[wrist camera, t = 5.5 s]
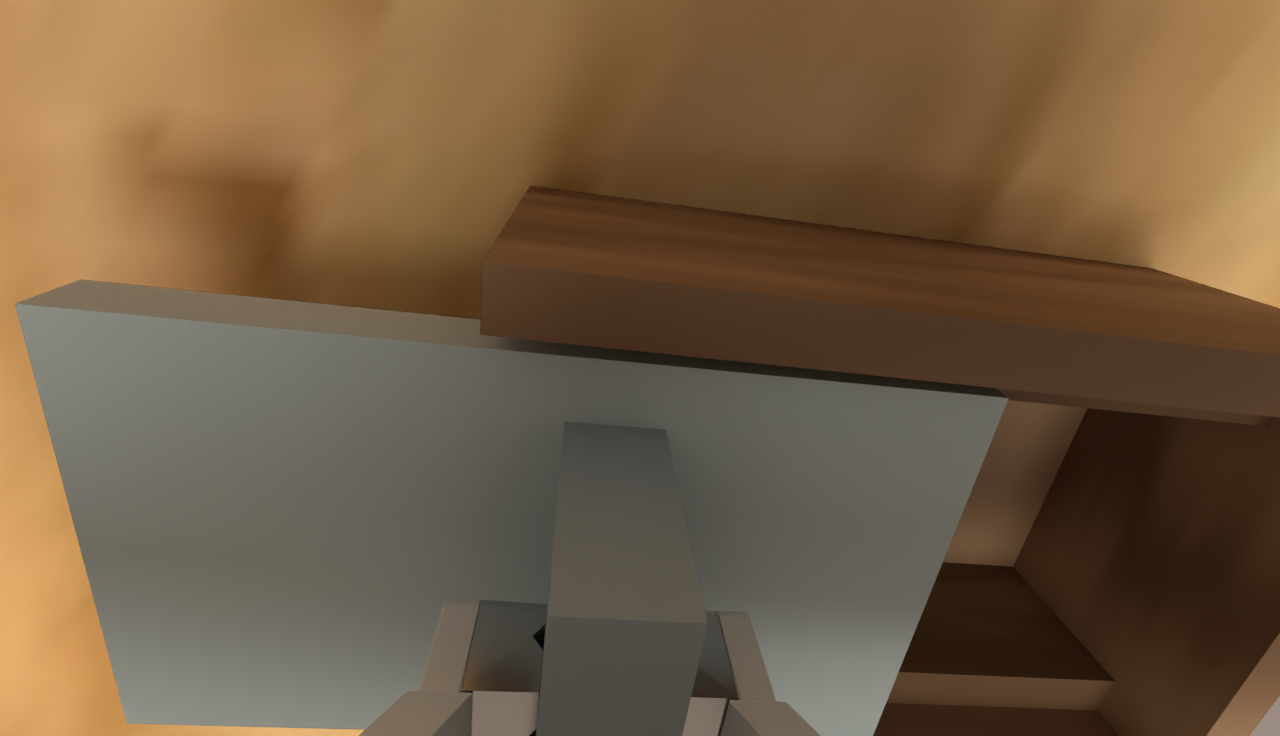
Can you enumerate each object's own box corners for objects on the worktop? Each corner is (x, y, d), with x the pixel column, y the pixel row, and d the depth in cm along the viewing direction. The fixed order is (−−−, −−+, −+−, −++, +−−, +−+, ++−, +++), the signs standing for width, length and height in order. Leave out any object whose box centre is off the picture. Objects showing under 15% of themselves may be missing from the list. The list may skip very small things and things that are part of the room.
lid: (80, 279, 10) (-417, 463, 5) (968, 368, 11) (1240, 567, 7) (167, 669, 13) (-84, 1010, 8) (849, 692, 15) (974, 984, 10)
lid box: (530, 185, 14) (483, 261, 8) (1153, 268, 16) (1515, 383, 10) (503, 566, 19) (458, 813, 12) (999, 595, 21) (1184, 822, 14)
